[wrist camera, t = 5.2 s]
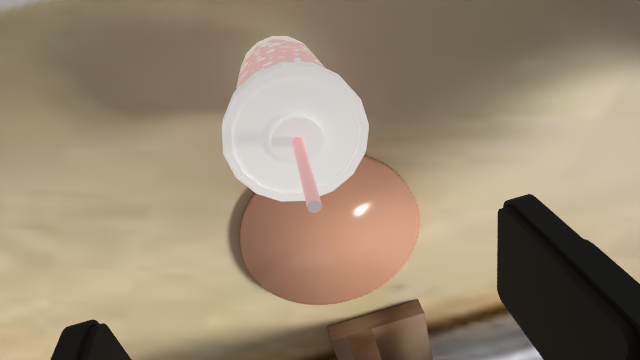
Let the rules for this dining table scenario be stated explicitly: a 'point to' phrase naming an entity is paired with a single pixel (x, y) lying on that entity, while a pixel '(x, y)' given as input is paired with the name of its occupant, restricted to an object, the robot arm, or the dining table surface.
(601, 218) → the dining table surface
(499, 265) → the robot arm
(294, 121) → the beverage cup
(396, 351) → the mount stand
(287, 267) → the peach round disc
